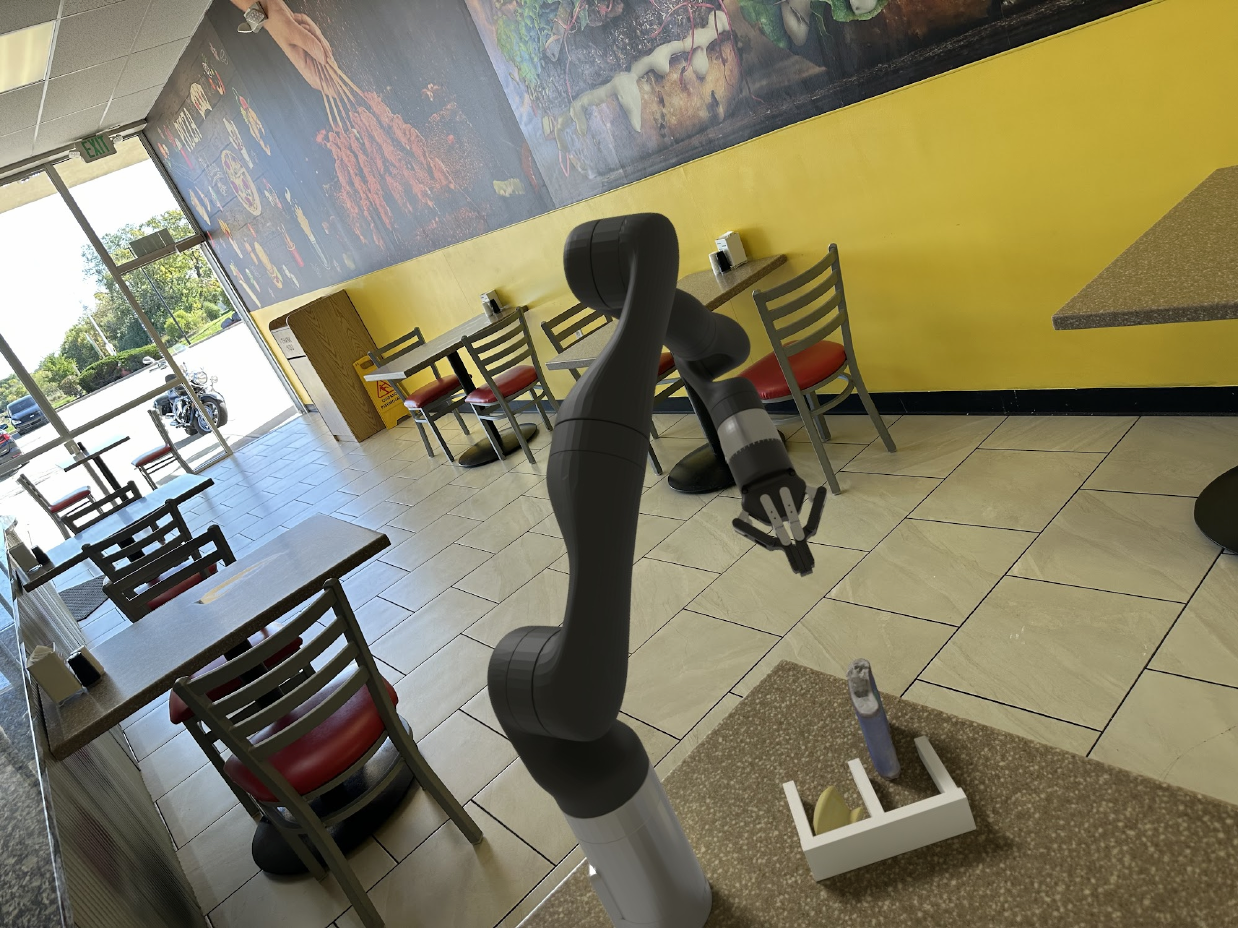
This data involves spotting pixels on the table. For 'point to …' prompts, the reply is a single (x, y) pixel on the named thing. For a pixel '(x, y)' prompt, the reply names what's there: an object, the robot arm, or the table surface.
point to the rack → (884, 822)
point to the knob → (834, 812)
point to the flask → (872, 718)
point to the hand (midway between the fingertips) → (807, 573)
